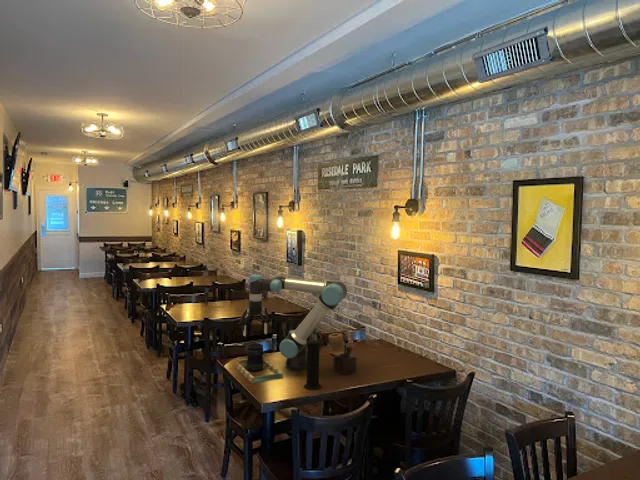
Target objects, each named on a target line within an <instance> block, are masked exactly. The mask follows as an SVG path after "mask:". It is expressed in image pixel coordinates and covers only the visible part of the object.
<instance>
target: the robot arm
mask: <svg viewBox="0 0 640 480" xmlns="http://www.w3.org/2000/svg"><path fill="white" fill-rule="evenodd" d="M281 290H286V291H287V290H288V291H294V292H301V293H310V294H317V295H319V296H318V298H317V299H318V301H317V302H316V304H315V305H314V307H312V309H311V310H310V311H309V313H307V315H306V316H305V317H304V319H303V320H302V321H301V322H300V323H299V325H298V326H297V327H296V329H291V330H289V331H288V334H287V336H286V337H285V338H284V339H283V340H281V342H280V343H279V352H280V354H281V356H283V357H284V358H285V359H286V360H285V365H284V366H285V368H286V369H288V370H291V371H304V370H307V341H308V338H309V336H310V335H311V334H312V333H313V332H314V331H315V329H316V328H317V327H318V326H319V324H320V323H321V322H323V320H324V318H325V317H326V316H327V314H328V313H329V312H330V311H334V310H335V309H336V308H337V306H338V305H339V304H340V303H341V301H343V300H344V299H346V297H347V294H348V288H347V286H346V285H345V284H344V283H343V282H341V281H336V280H335V281H334V280H326V281H317V280H310V279H302V278H293V277H284V276H283V275H278V276H275V277H273V278H263V275H261V274H251V275H250V277H249V296H248V297H249V298H248V300H249V303H248V308H243V313H242V315H241V317H240V320H239V321H238V325H241V331H243V332H242V335H243V336H244V337H246V335H247V325H246V324H247V322H248V321H250V319H251V317H252V316H253V317H255V316H257V317H258V316H260V317H261V318H262V320H263V321H264V324H263V327H264V328H263V331H264V332H263V333H264V334H265V335H268V329H269V324H270V323H271V322H272V319H271V317H270V315H269V312H268V308H267V307H265V306H263V303H262V302H263V301H262V300H263V297H262V296H263V292H271V293H280V292H281ZM262 306H263V307H262ZM262 311H263V312H264V315H265V316H264V315H263V313H262ZM247 314H248V315H247Z"/></svg>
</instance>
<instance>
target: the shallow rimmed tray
mask: <svg viewBox="0 0 640 480" xmlns="http://www.w3.org/2000/svg"><path fill="white" fill-rule="evenodd" d="M247 361H248V358H243V359H238V362H237V363H236V364H235V365H236V369H237V371H239V372H240V373H241V374H242V375H243V376H244V377H245V378H246V379H247V380H248V381H249V382H250V383H251V384H257V383H262V382H269V381H276V380H281V379H284V373H283V372H282V371H281V370H279V369H278V368H276V367H275V366H274V365H273V364H271V363H270V362H269V361H268V360H266V359H265V357H264V356H263V367H265V368H266V369H268V370H269V371H270V372H271V373H270V374H265V375H257V376H253V375H252V374H251V372H249V371H247Z"/></svg>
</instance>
